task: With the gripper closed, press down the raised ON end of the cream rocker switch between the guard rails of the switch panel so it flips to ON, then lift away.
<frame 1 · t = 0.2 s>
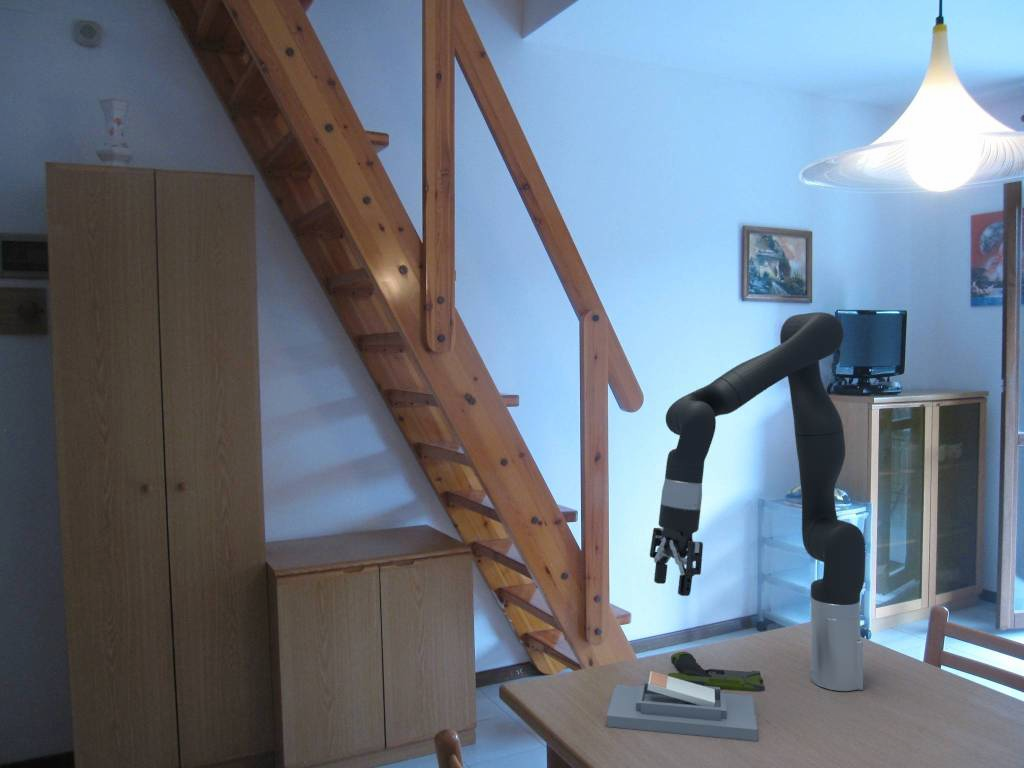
hand: (671, 589, 148), 22 cm above the table, tool pointing down, fingers open, 8 cm apart
gun: (714, 678, 162), on the table
panel: (681, 716, 144), on the table
rocker: (681, 689, 143), point 5 cm above the table, hinge at -12.0°
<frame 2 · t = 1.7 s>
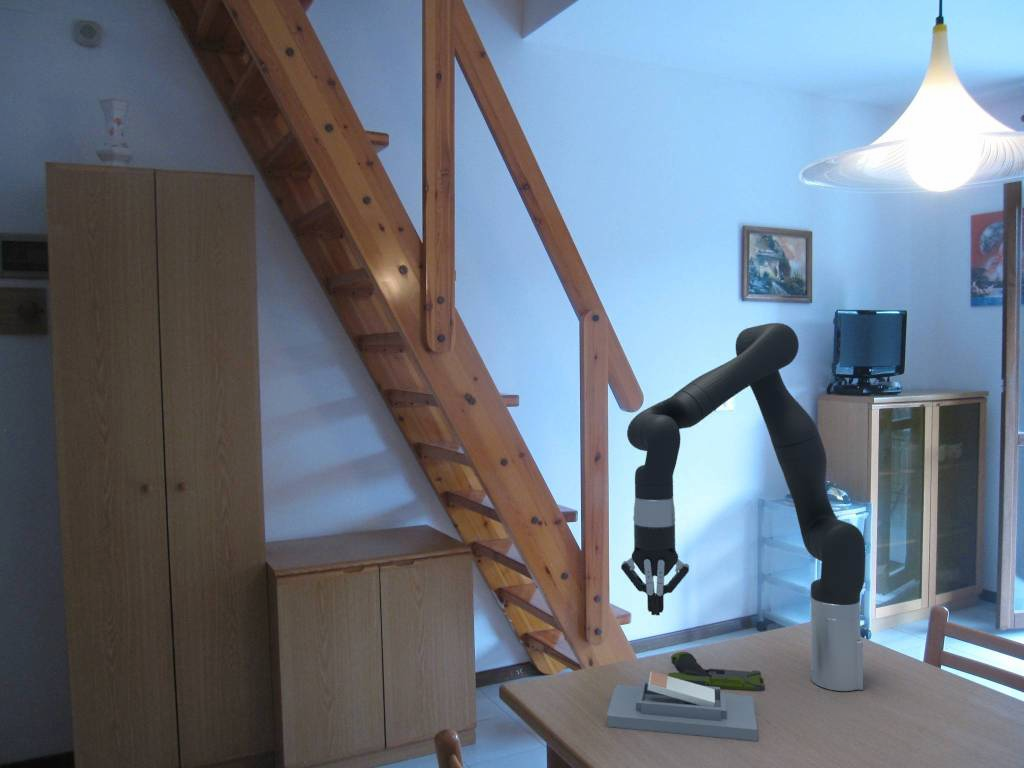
hand: (655, 613, 144), 19 cm above the table, tool pointing down, fingers closed
nothing on the table moved.
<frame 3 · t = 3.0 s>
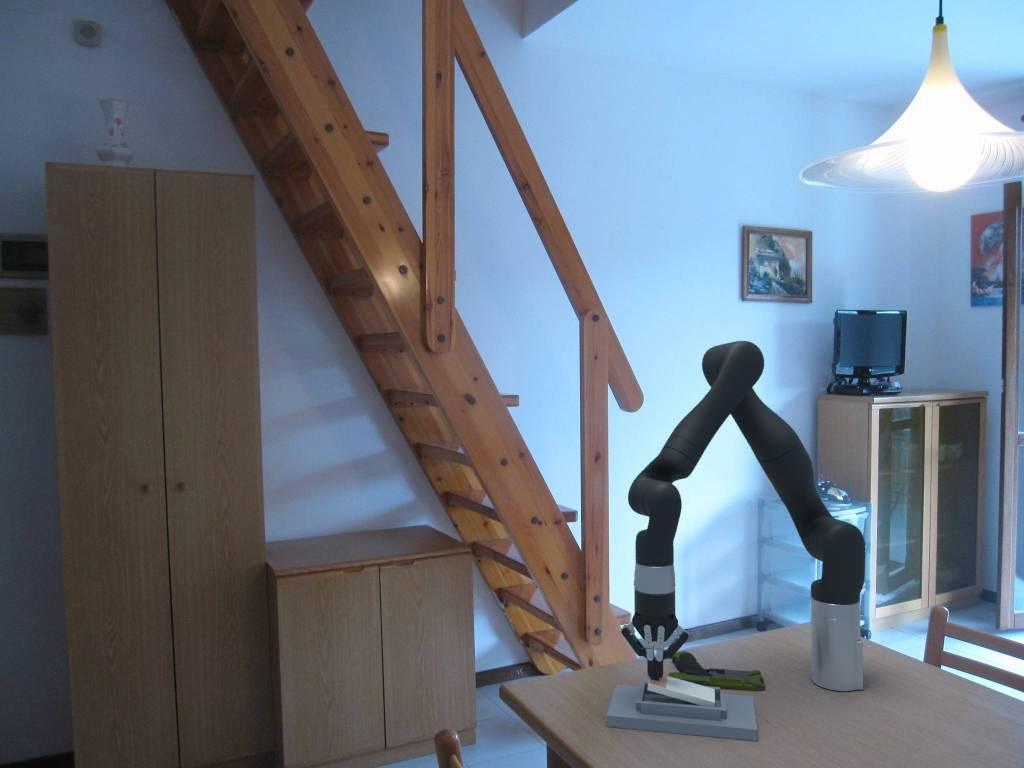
hand: (655, 678, 145), 7 cm above the table, tool pointing down, fingers closed
rocker: (681, 689, 143), point 5 cm above the table, hinge at -11.7°, touching gripper
everything else where it was.
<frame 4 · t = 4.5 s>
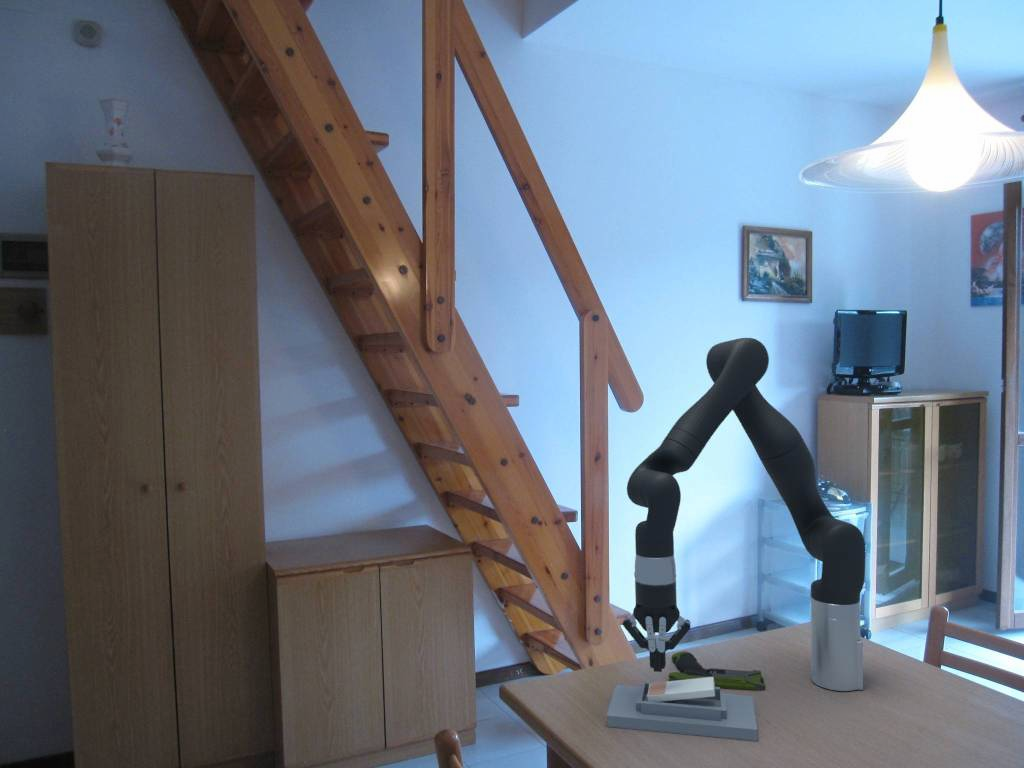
hand: (657, 670, 144), 8 cm above the table, tool pointing down, fingers closed
rocker: (681, 689, 143), point 5 cm above the table, hinge at 10.6°
everything else where it was.
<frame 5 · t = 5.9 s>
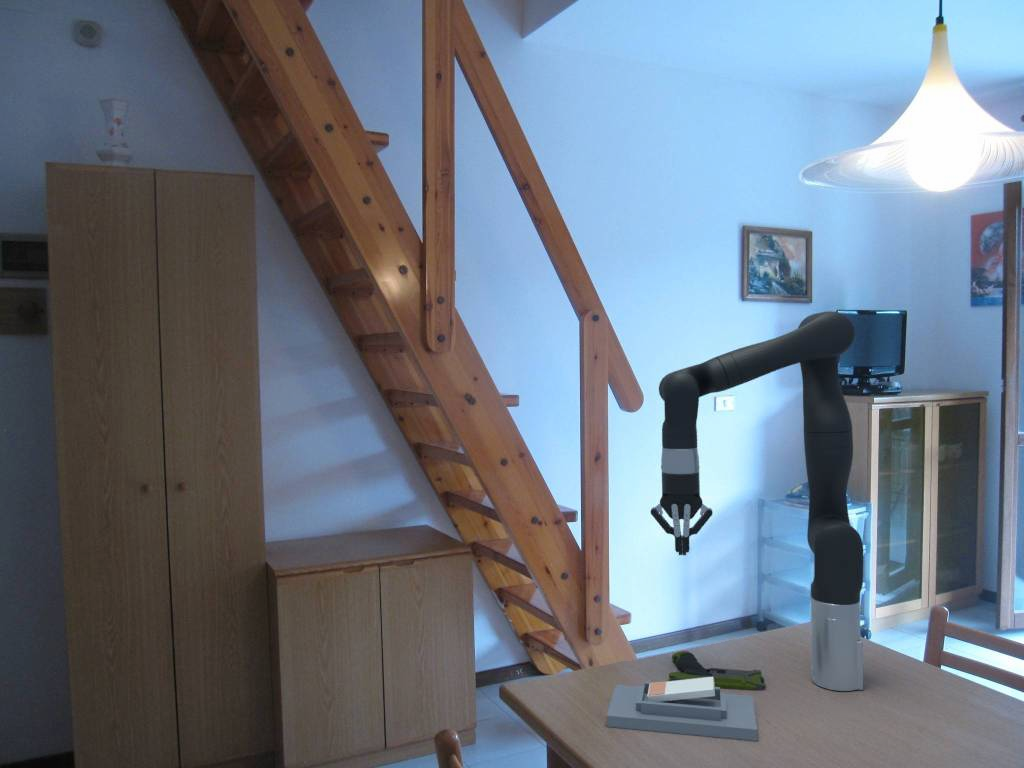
hand: (682, 554, 158), 26 cm above the table, tool pointing down, fingers closed
rocker: (681, 689, 143), point 5 cm above the table, hinge at 10.9°
everything else where it was.
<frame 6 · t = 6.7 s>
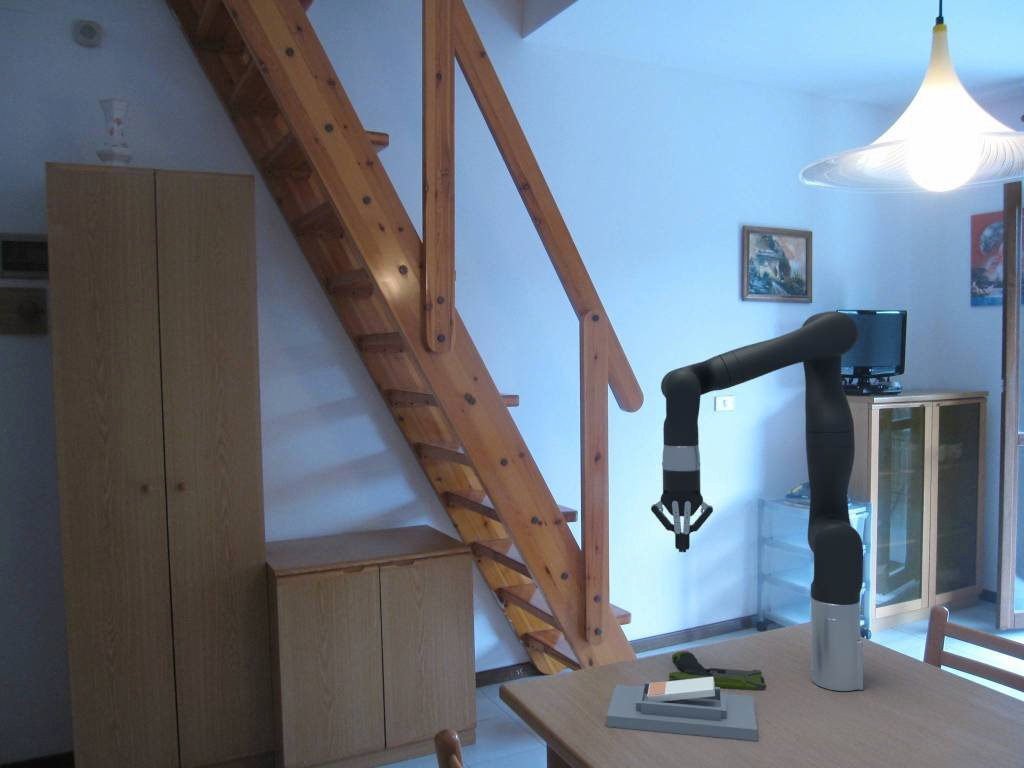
hand: (682, 551, 159), 27 cm above the table, tool pointing down, fingers closed
nothing on the table moved.
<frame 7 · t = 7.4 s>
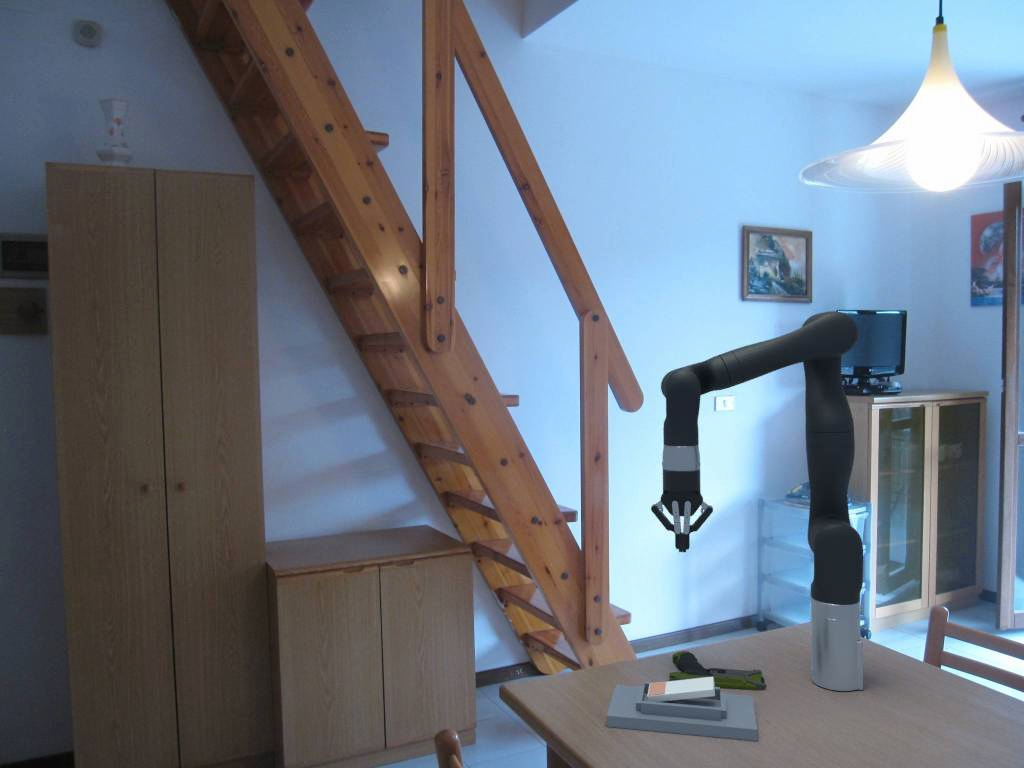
hand: (682, 551, 159), 27 cm above the table, tool pointing down, fingers closed
nothing on the table moved.
at the end: rocker at +11° (first picture: -12°); gun moved 1.0 cm from its start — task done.
